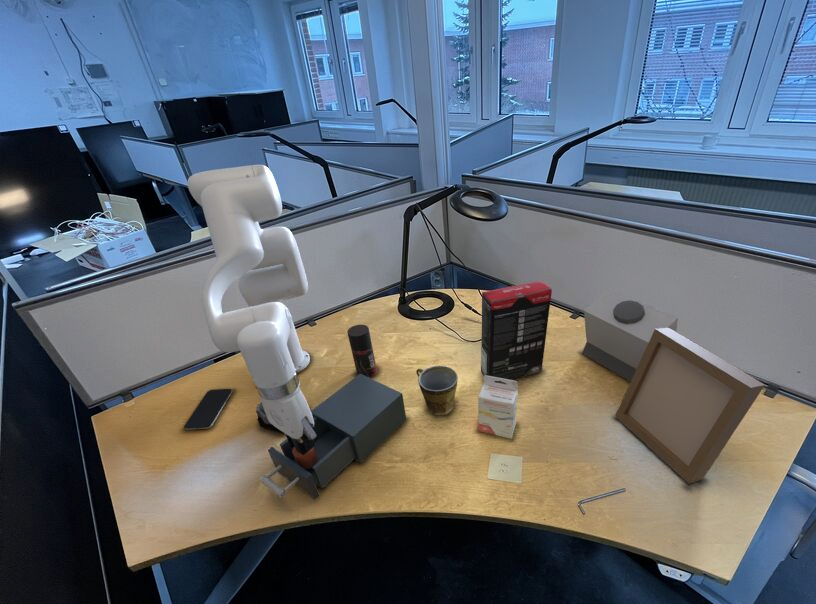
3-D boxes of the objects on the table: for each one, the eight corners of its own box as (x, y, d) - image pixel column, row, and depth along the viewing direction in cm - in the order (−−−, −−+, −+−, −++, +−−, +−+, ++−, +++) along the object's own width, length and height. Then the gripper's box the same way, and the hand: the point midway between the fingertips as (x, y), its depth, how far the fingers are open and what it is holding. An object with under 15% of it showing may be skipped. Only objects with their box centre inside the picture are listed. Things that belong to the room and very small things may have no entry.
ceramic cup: (467, 404, 109) (465, 375, 103) (441, 426, 103) (438, 396, 97) (432, 384, 117) (429, 356, 111) (406, 403, 111) (402, 374, 105)
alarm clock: (671, 369, 116) (692, 307, 104) (636, 392, 109) (654, 328, 98) (610, 337, 130) (623, 279, 119) (576, 356, 123) (586, 296, 112)
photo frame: (687, 486, 85) (728, 397, 71) (614, 418, 102) (634, 335, 88) (738, 461, 90) (785, 372, 75) (659, 400, 106) (686, 318, 92)
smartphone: (182, 428, 107) (208, 389, 119) (183, 430, 107) (209, 391, 119) (209, 427, 107) (233, 388, 119) (211, 428, 107) (234, 390, 119)
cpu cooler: (306, 394, 107) (280, 421, 100) (312, 410, 111) (287, 437, 103) (275, 386, 111) (248, 412, 103) (281, 402, 114) (255, 427, 106)
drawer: (296, 517, 84) (286, 496, 79) (258, 486, 90) (247, 465, 86) (367, 451, 97) (361, 429, 93) (329, 428, 103) (322, 407, 99)
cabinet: (360, 463, 95) (353, 436, 90) (319, 437, 102) (310, 411, 97) (406, 419, 106) (402, 393, 101) (366, 399, 113) (360, 373, 108)
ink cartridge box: (477, 432, 101) (476, 387, 92) (482, 418, 105) (482, 373, 96) (512, 439, 98) (514, 393, 90) (516, 425, 102) (518, 379, 94)
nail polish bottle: (293, 463, 91) (280, 433, 85) (309, 450, 94) (297, 419, 88) (306, 472, 89) (294, 442, 83) (322, 458, 92) (311, 428, 86)
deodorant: (373, 379, 120) (364, 337, 111) (354, 377, 121) (343, 335, 112) (379, 366, 125) (371, 325, 116) (361, 365, 126) (352, 323, 117)
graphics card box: (533, 359, 123) (539, 277, 108) (544, 373, 118) (553, 288, 102) (480, 373, 119) (479, 289, 104) (489, 388, 114) (490, 302, 98)
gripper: (235, 378, 80) (265, 442, 90) (288, 411, 72) (313, 476, 82) (269, 358, 84) (293, 420, 95) (321, 387, 76) (341, 451, 87)
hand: (302, 446), depth 89 cm, fingers closed on nail polish bottle, 2 cm apart
